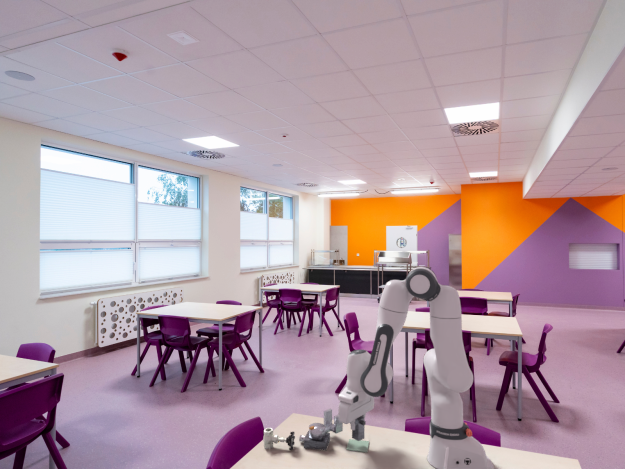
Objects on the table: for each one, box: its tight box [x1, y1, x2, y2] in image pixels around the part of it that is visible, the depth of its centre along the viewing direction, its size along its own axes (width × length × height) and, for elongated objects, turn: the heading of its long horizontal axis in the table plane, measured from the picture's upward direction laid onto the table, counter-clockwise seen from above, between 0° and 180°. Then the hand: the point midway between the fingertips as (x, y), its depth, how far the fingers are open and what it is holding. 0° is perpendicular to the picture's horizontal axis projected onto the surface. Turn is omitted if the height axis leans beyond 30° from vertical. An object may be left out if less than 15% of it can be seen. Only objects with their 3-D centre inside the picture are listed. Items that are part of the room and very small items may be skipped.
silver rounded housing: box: [308, 408, 344, 440], centre depth 158 cm, size 14×8×7 cm, turn 129°
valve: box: [262, 427, 296, 451], centre depth 153 cm, size 7×7×12 cm
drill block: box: [298, 430, 331, 451], centre depth 156 cm, size 12×8×3 cm
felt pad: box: [346, 438, 370, 453], centre depth 154 cm, size 8×8×1 cm
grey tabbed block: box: [351, 416, 367, 441], centre depth 154 cm, size 3×6×8 cm, turn 40°
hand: (357, 427), depth 154 cm, fingers closed on grey tabbed block, 4 cm apart
